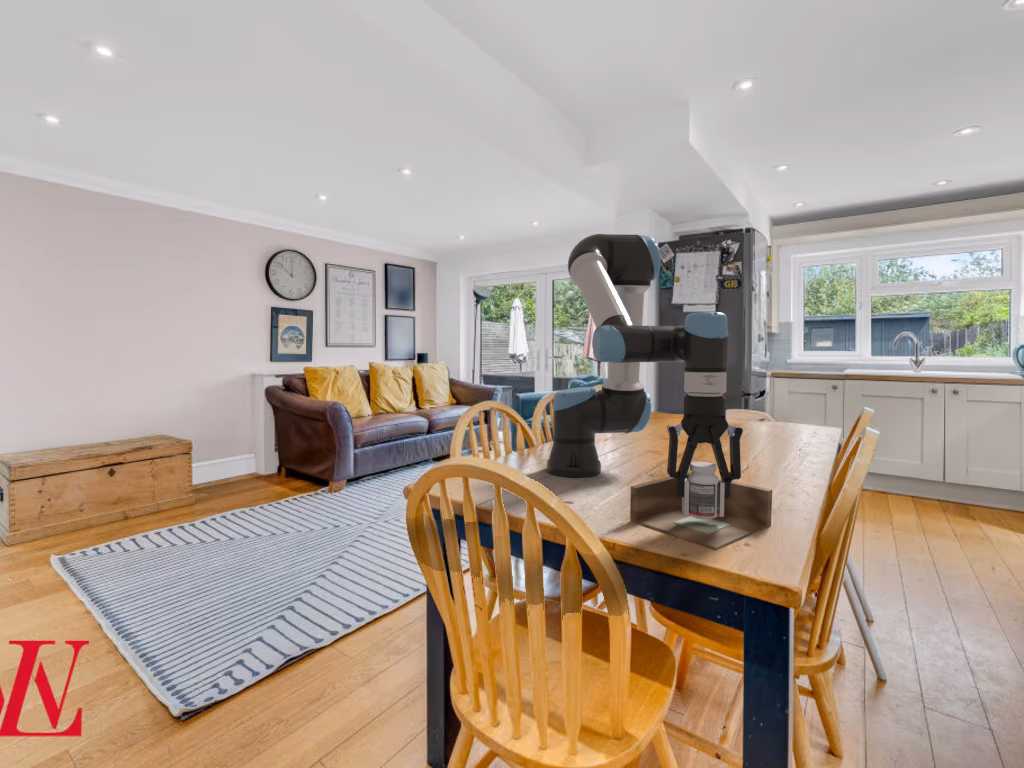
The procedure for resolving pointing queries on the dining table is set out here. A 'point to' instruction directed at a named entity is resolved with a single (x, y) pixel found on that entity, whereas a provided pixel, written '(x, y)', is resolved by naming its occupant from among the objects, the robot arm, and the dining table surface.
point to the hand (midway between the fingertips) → (702, 513)
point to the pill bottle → (703, 490)
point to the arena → (664, 513)
